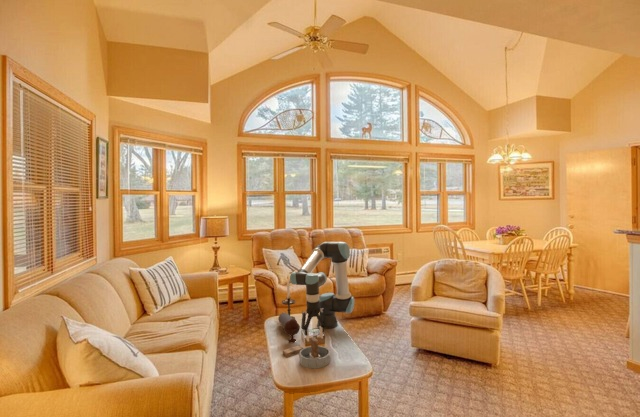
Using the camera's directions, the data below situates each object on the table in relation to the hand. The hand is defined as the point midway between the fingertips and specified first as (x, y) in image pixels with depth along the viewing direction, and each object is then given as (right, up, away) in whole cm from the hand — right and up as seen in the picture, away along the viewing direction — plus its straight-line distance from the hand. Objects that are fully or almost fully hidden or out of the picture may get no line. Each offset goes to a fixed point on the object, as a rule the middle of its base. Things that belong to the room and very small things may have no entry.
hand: (314, 339), depth 196 cm
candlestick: (-21, -12, +71) cm, 75 cm away
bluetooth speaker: (-20, -13, +49) cm, 54 cm away
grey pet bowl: (0, -13, 0) cm, 13 cm away
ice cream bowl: (-15, -13, +29) cm, 35 cm away
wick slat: (0, -12, 0) cm, 12 cm away
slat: (-13, -13, +11) cm, 22 cm away
